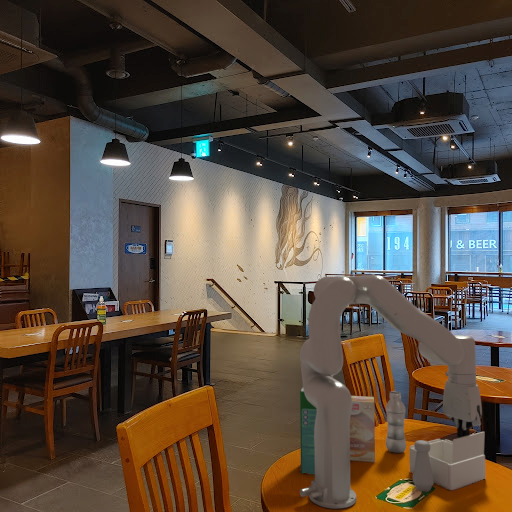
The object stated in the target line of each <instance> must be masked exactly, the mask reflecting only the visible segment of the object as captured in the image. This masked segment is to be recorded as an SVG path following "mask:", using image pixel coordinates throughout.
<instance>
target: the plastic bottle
mask: <svg viewBox="0 0 512 512" xmlns="http://www.w3.org/2000/svg"><path fill="white" fill-rule="evenodd" d="M401 395H402V394H401V391H394V390H393V391H392V390H391V391H389V396H388V397H389V400H388V402H387V403H386V405H385V412H386V422H387V433H386V439H385V446H386V450H388V451H389V452H390V453H395V454H402V453H404V452H405V451H406V448H407V443H406V442H407V441H406V438H405V429H404V428H405V416H406V406H405V405H404V403H403V402H402V396H401Z"/></svg>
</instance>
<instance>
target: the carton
mask: <svg viewBox="0 0 512 512" xmlns="http://www.w3.org/2000/svg"><path fill="white" fill-rule="evenodd" d="M427 442H428V443H430V451H429V452H428V453H429V458H430V463H431V467H432V472H433V477H434V484H436V485H438V486H440V487H442V488H444V489H447V490H449V491H451V492H452V491H456V490H459V489H461V488H464V487H466V486H470V485H473V484H476V483H478V482H477V481H479V482H481V481H480V480H482V481H484V480H483V479H485V478H486V455H485V453H484V454H482V455H478V456H475V457H472V458H468V459H465V460H461V461H458V462H455V463H453V462H452V453H453V440H449V439H441V438H436V439H433V440H429V441H427ZM416 452H417V450H415V444H413V445H410V446H409V472H410V473H413V472H414V465H415V458H416ZM485 480H486V479H485ZM475 482H476V483H475ZM472 483H473V484H472Z"/></svg>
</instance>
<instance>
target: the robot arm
mask: <svg viewBox="0 0 512 512" xmlns="http://www.w3.org/2000/svg"><path fill="white" fill-rule="evenodd" d="M313 294H314V300H313V302H312V305H311V306H310V310H309V312H308V321H307V323H308V339H306V340H305V341H304V342H303V344H302V345H301V348H300V353H299V360H300V362H299V363H300V364H299V365H300V370H301V371H300V372H301V380H302V386H303V389H304V394H305V397H306V399H307V400H308V401H309V402H310V403H311V404H312V405H313V406H314V407H315V408H316V409H317V414H316V420H315V427H314V442H315V474H314V480H311V485H309V487H305V488H304V487H303V488H300V489H299V494H300V497H302V498H304V497H309V499H310V501H311V502H312V503H314V504H315V505H317V506H319V507H321V508H326V509H332V510H337V509H338V510H339V509H346V508H349V507H352V506H353V505H354V504H356V502H357V494H356V492H355V491H354V490H353V489H352V488H351V460H350V417H351V410H352V397H351V396H352V395H351V392H350V390H349V388H348V387H347V386H346V385H345V384H343V383H342V382H340V381H339V380H337V379H335V378H334V376H335V375H337V374H339V373H340V372H341V370H342V368H343V366H344V354H343V346H342V337H341V327H340V325H341V323H340V321H341V316H342V315H343V312H344V311H345V310H346V308H348V307H349V305H359V304H363V305H364V304H365V305H369V306H370V307H371V308H372V309H373V310H374V311H375V312H377V313H378V314H379V315H380V316H381V317H382V318H383V319H384V320H385V321H386V322H387V323H388V324H389V325H390V326H391V327H392V328H394V329H395V330H397V331H398V332H399V333H402V334H404V335H406V336H408V337H411V338H413V339H415V340H416V341H418V342H419V343H418V352H419V354H420V355H421V357H423V358H424V359H426V360H428V361H432V362H434V363H438V364H442V365H445V366H447V371H446V372H445V374H444V375H445V376H446V377H447V380H446V381H445V384H444V388H443V398H442V399H443V400H442V412H443V414H444V415H445V417H447V418H448V419H450V420H452V422H453V423H454V427H455V428H456V437H457V438H460V437H464V436H468V435H471V434H470V432H471V431H470V429H472V428H473V427H479V426H481V425H482V422H481V419H482V416H483V407H482V398H481V397H482V396H481V392H480V388H479V385H478V384H477V372H476V371H477V369H476V367H477V365H476V360H477V359H476V341H475V339H474V337H472V336H469V335H461V334H460V335H459V334H458V335H456V334H455V335H454V334H453V333H452V332H451V331H450V330H449V329H448V328H447V327H446V326H444V325H442V324H441V323H440V322H439V321H437V320H436V319H434V318H432V316H430V315H428V314H427V313H425V312H424V311H423V310H421V309H419V307H416V306H415V305H414V304H413V303H412V302H411V301H409V299H407V297H405V296H404V295H403V294H402V293H401V292H400V291H399V290H398V289H397V288H396V287H395V286H394V285H393V284H392V283H391V282H390V281H389V280H388V279H386V278H385V277H383V276H381V275H376V274H375V275H373V274H372V275H369V274H368V275H364V274H363V275H351V276H349V275H348V276H340V275H338V276H337V275H336V276H325V277H321V278H320V279H318V280H317V281H316V282H315V284H314V286H313Z"/></svg>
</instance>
